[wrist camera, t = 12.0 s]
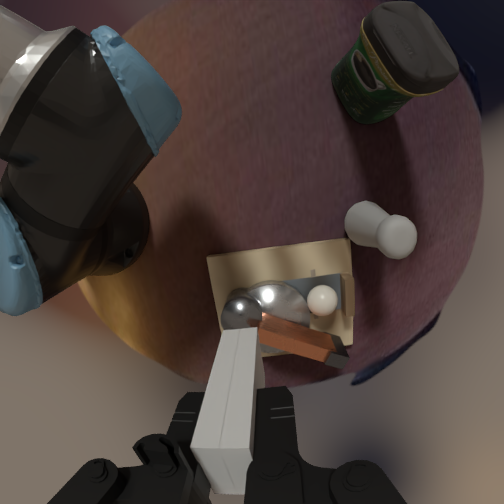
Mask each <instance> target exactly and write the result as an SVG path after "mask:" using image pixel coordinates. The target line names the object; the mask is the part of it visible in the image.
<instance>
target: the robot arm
mask: <svg viewBox="0 0 504 504" xmlns="http://www.w3.org/2000/svg"><path fill="white" fill-rule="evenodd" d="M90 34H91V36H88V35H86V34H85V33H83V32H81V31H80V30H79V29H77V28H76V27H74V26H71V27H67V28H63V29H59V30H55V31H49V32H45V31H44V30H42V29H40V28H39V27H37V26H35V25H34V24H32V23H31V22H29V21H27V20H25V19H24V18H22V17H20V16H19V15H17V14H15V13H13V12H12V11H10V10H8V9H6V8H4V7H2V6H1V5H0V158H1V159H2V160H4V161H6V162H8V165H7V167H6V169H5V172H4V174H3V176H2V178H1V181H0V311H1V312H3V313H7V314H9V315H11V316H18V315H22V314H24V313H26V312H28V311H30V310H33V309H37V308H39V307H40V305H41V304H42V303H44V302H46V301H47V300H49V299H50V298H52V297H54V296H55V295H57V294H58V293H60V292H62V291H63V290H65V289H66V288H68V287H70V286H72V285H73V284H75V283H77V282H78V281H80V280H82V279H83V278H85V277H86V276H88V275H94V276H107V275H112V274H116V273H118V272H120V271H122V270H124V269H125V268H127V267H129V266H130V265H131V264H133V263H134V262H135V261H136V260H137V259H138V257H139V256H140V255H141V253H142V251H143V249H144V247H145V245H146V242H147V238H148V232H149V216H148V210H147V206H146V203H145V201H144V198H143V196H142V194H141V193H140V191H139V190H138V188H137V187H136V186H135V185H134V183H133V182H134V181H135V180H136V178H137V177H138V176H139V174H140V173H141V172H142V171H143V169H144V168H145V167H146V166H147V164H148V163H149V162H150V161H151V159H152V158H153V157H154V156H155V157H156V156H157V155H158V153H159V149H160V147H161V146H162V145H163V143H164V142H165V141H166V139H167V138H168V137H169V136H170V134H171V133H172V132H173V131H174V129H175V128H176V127H177V126H178V124H179V122H180V120H181V116H182V109H181V105H180V102H179V100H178V98H177V97H176V95H175V94H174V93H173V91H172V90H171V88H170V87H169V86H168V85H167V84H166V82H165V81H164V80H163V79H162V77H161V76H160V75H159V74H158V73H157V72H156V71H155V69H154V68H153V67H152V66H151V65H150V64H149V63H148V62H147V61H146V60H145V59H144V58H143V57H142V56H141V54H140V53H139V52H138V51H137V50H135V49H134V48H133V47H132V46H131V45H130V44H128V43H126V41H125V40H124V39H123V38H121V37H120V36H119V35H118V33H117V32H115V31H114V30H113V29H111V28H110V27H108V26H100V27H99V28H97V29H95V30H93V31H92V32H91V33H90ZM133 450H134V451H135V453H136V454H137V456H138V457H139V459H140V460H141V462H142V463H143V464H144V465H141V466H135V467H123V468H117V466H116V465H115V464H114V463H113V462H111V461H110V460H107V459H103V458H101V459H100V458H98V459H93V460H90V461H88V462H87V463H86V464H85V465H83V466H82V467H81V468H80V469H79V471H77V473H76V474H75V475H74V476H73V477H72V478H71V479H70V480H69V481H68V482H67V483H66V484H65V485H64V486H63V488H61V490H60V491H59V492H58V493H57V494H56V495H55V496H54V497H53V498H52V499H51V500H50V501H49V502H48V503H47V504H212V503H211V501H210V499H209V492H210V488H212V490H213V492H214V493H215V494H245V497H244V504H407V503H406V502H405V500H404V499H403V498H402V496H401V495H400V493H399V492H398V491H397V489H396V488H395V487H394V485H393V484H392V482H391V481H390V480H389V478H388V477H387V476H386V474H385V473H384V472H383V470H382V469H381V468H380V467H379V466H378V465H376V464H375V463H373V462H370V461H367V460H355V461H351V462H347V463H345V464H344V465H341V466H340V467H338V468H337V469H330V468H321V467H316V466H313V465H311V464H309V463H307V462H306V461H304V460H303V459H302V457H301V456H300V454H299V451H298V444H297V434H296V424H295V414H294V405H293V395H292V394H291V392H290V391H289V390H288V389H287V387H286V386H281V387H271V388H265V374H264V367H263V361H262V355H261V348H260V342H259V335H258V329H257V327H253V328H243V329H233V330H223V332H222V336H221V339H220V343H219V346H218V350H217V353H216V357H215V360H214V364H213V367H212V371H211V375H210V378H209V382H208V385H207V389H206V392H187V393H186V394H185V396H184V397H183V398H182V399H181V400H180V401H179V403H178V405H177V408H176V410H175V414H174V415H173V418H172V422H171V423H170V426H169V429H168V431H167V434H166V435H165V434H151V435H148V436H145V437H143V438H141V439H140V440H138V441H137V442H136V443H135V445H134V446H133Z"/></svg>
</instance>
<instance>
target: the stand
mask: <svg viewBox="0 0 504 504" xmlns="http://www.w3.org/2000/svg"><path fill="white" fill-rule="evenodd" d="M207 264H208V269H209V275H210V280H211V285H212V290H213V295H214V300H215V305H216V310H217V315H218V320H219V325H220V330H221V334H222V332H223V330H224V329H223V328H222V325H221V320H220V318H221V314H222V311H223V308H224V305H225V302H226V299H227V297H228V295H229V294H230V293H231V292H232V291H233V290H235V289H237V288H242V287H246V288H249V287H251V286H252V285H254V284H256V283H259V282H262V281H267V280H278V281H283V282H286V283H288V284H291V285H292V286H294V287H295V288H297V289H298V290H299V291H300V292H301V293H302V295H303V296H304V298H305V300H306V302H307V297H308V294H309V292H310V291H311V290H312V289H313V288H314V287H316V286H319V285H326V286H329V287H331V288H332V289H333V290H334V291H335V292H336V294H337V297H338V303H337V307H336V308H335V310H334V311H333V312H332V313H331V314H329V315H326V316H318V315H315V314H314V313H312V312H311V311H310V309H309V311H310V326H309V328H310V329H314V330H317V331H320V332H323V331H324V332H327V333H330V334H333V335H337V336H340V338H341V340H342V342H343V344H344V346H345V345H351V344H353V316H355V296H354V278H353V277H352V262H351V245H350V239H349V238H341V239H333V240H325V241H317V242H309V243H301V244H293V245H286V246H278V247H270V248H262V249H254V250H247V251H239V252H231V253H223V254H216V255H208V256H207ZM285 354H293V353H290V352H287V351H283V352H279V353H263V352H261V355H262V357H267V356H276V355H285Z"/></svg>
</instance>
